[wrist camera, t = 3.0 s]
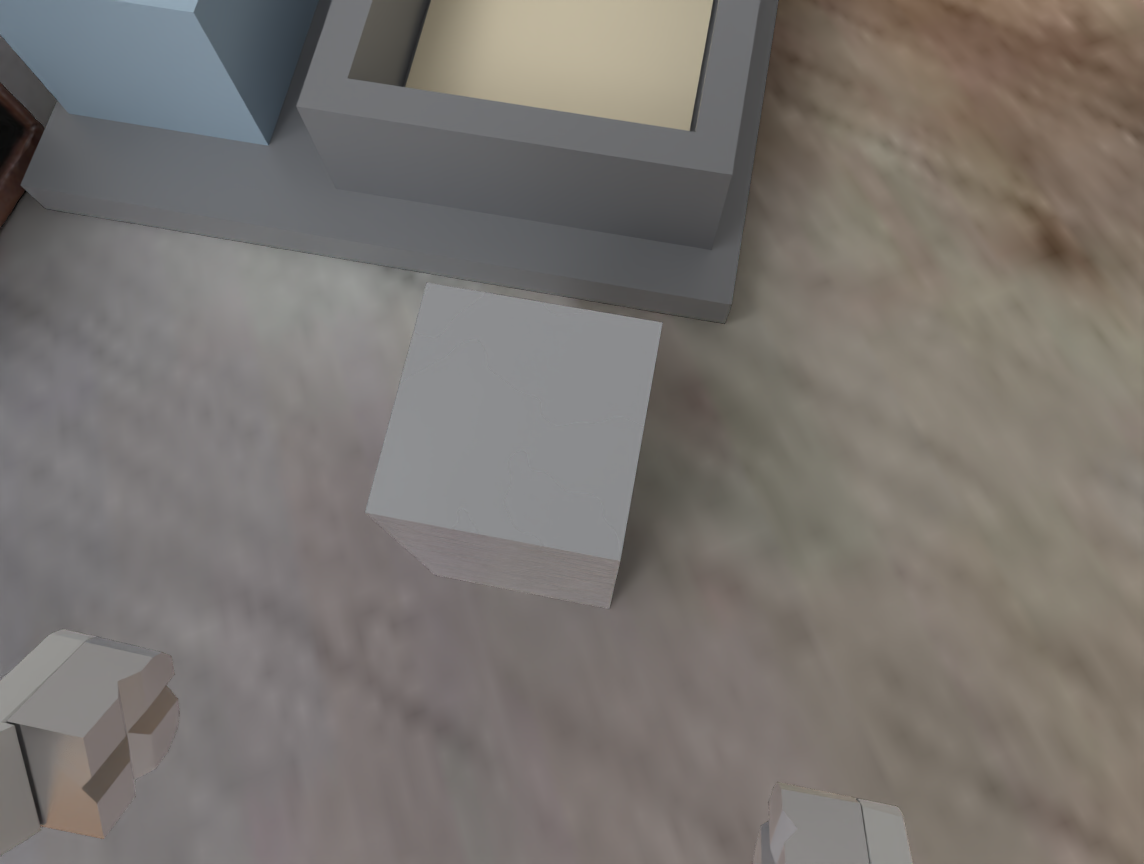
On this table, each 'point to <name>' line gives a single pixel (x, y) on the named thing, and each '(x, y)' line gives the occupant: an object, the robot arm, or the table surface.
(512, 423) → the grey square pillar block
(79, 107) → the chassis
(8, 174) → the letter holder
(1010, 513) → the table surface
